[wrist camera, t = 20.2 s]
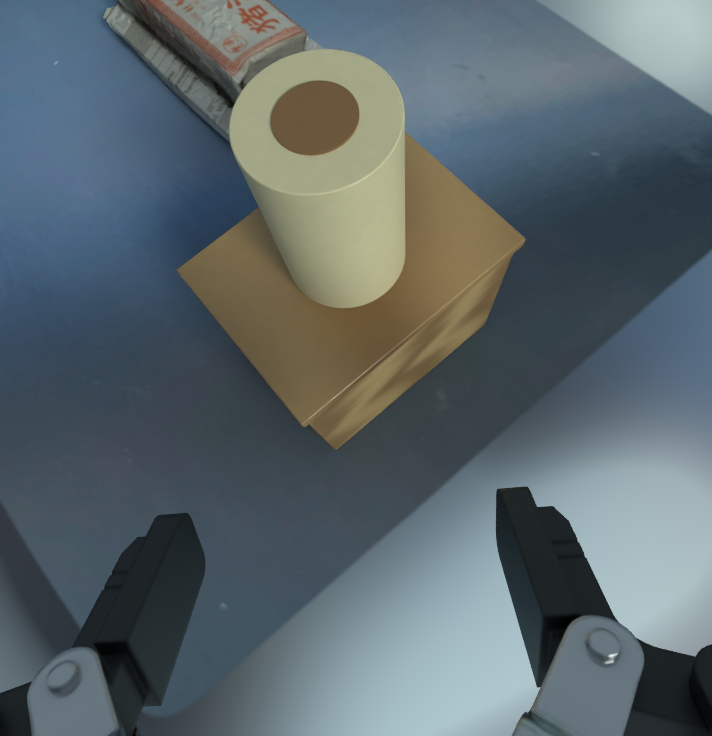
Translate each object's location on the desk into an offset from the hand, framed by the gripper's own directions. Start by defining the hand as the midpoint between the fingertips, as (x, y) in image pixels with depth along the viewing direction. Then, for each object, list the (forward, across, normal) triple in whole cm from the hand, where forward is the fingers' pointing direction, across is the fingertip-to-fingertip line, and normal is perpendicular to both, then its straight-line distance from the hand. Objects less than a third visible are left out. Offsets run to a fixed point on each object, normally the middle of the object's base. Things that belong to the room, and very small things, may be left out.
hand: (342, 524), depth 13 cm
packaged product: (+37, +9, -14) cm, 40 cm away
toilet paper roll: (+12, 0, -4) cm, 13 cm away
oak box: (+20, 0, +3) cm, 20 cm away
